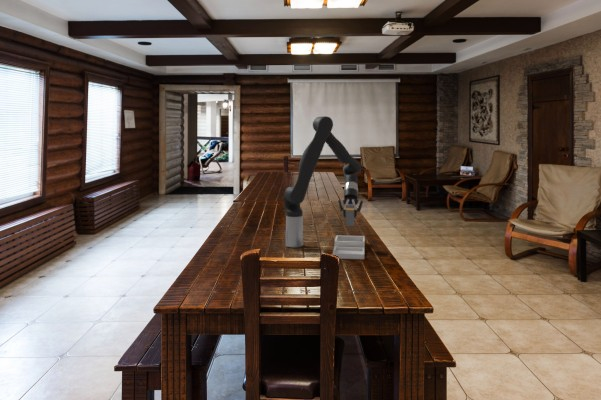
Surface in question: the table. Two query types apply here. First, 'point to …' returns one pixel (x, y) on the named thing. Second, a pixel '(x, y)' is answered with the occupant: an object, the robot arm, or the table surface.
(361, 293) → the table surface
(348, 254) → the lid
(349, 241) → the case
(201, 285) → the table surface
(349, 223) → the module
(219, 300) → the table surface
